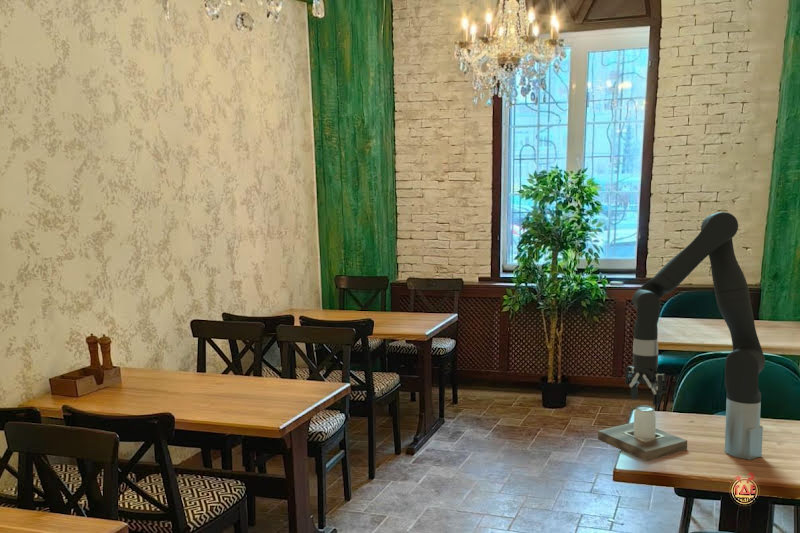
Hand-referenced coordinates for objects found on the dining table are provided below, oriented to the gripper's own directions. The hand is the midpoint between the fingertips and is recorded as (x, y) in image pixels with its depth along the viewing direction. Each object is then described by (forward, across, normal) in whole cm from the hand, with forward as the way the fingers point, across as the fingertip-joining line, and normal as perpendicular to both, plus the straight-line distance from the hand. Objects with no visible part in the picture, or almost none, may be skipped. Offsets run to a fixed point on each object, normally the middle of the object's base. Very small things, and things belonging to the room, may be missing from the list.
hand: (645, 401), depth 200 cm
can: (+14, 0, 0) cm, 14 cm away
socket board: (+14, +1, 0) cm, 14 cm away
